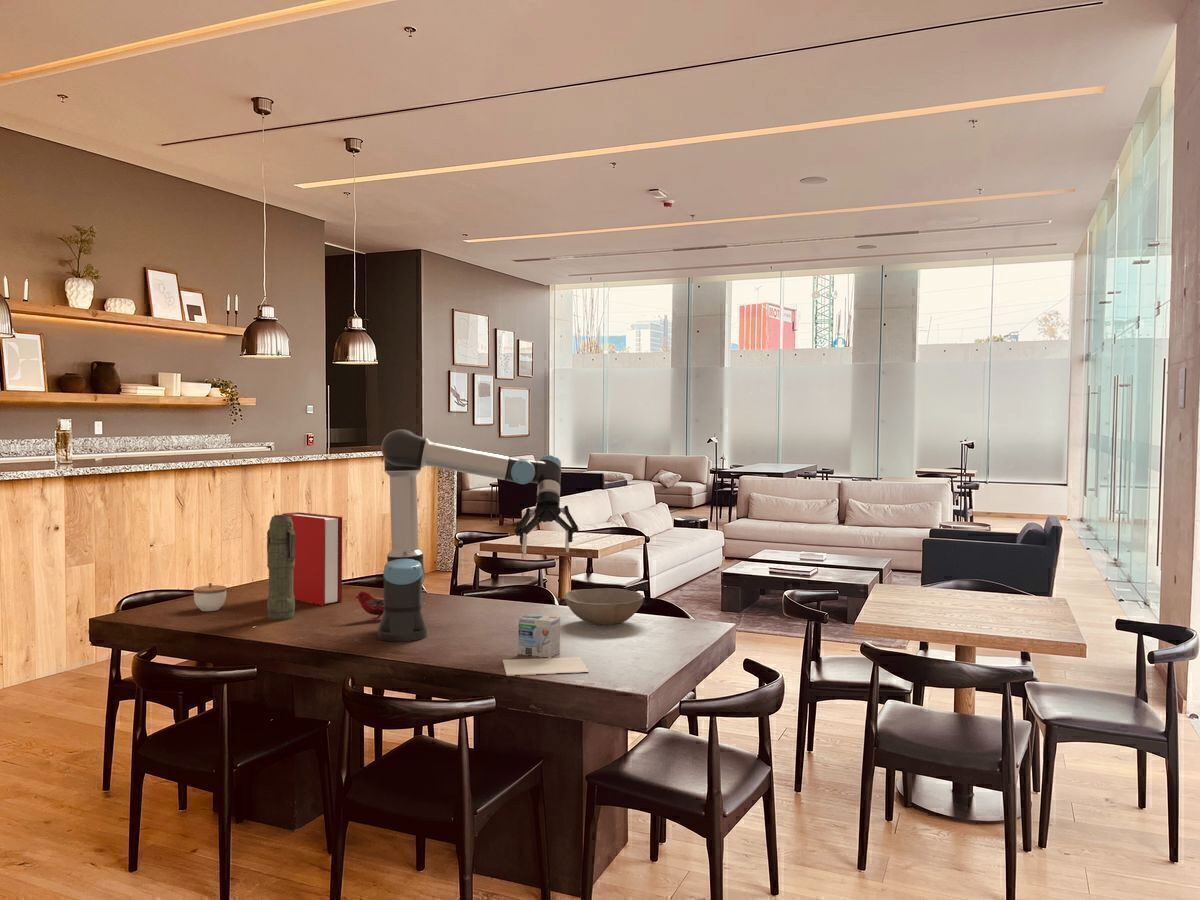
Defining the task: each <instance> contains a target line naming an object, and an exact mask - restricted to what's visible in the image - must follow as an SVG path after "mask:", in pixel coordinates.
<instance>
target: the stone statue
mask: <svg viewBox="0 0 1200 900" xmlns="http://www.w3.org/2000/svg"><path fill="white" fill-rule="evenodd" d="M295 544H296V534H295V532H294V530H293V522H292V519H291V516H289V515H282V514H275V515H273V516H271V519H270V521H269V528H268V530H267V532H266V552H267V554H266V555H267V562H266V563H267V564H266V565H267V569H268V596H267V599H266V612H267V618H266V619H267V620H269V621H285V620H291V619H293V618H295V609H296V600H295V597H294V594H293V568H294V566H295Z"/></svg>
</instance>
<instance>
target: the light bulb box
mask: <svg viewBox="0 0 1200 900" xmlns="http://www.w3.org/2000/svg"><path fill="white" fill-rule="evenodd" d="M517 637H518V645H517V646H518V647H517V649H518V651H517V654H518V655H521V654H522V655H523V656H528V655H532V656H531V657H536V656H542V657H541V658H543V657H551V658H553V657H555V656H556V655H555V654H557V653H559V652H560V651H561V649H560V648H561V645H560V644H561V617H560V616H553V615H552V616H551V615H543V614H542V615H540V614H534V613H533V614H531V613H527V614H526V615H524V616H523V615H522V616H521V617H519V618H518V636H517ZM559 654H560V653H559ZM554 655H555V656H554ZM557 655H558V654H557ZM552 656H553V657H552Z"/></svg>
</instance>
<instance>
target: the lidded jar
mask: <svg viewBox="0 0 1200 900" xmlns="http://www.w3.org/2000/svg"><path fill="white" fill-rule="evenodd" d="M227 589H228V588H227V586H225V585H222V584H221V585H218V584H215V585H213V584H212V582H210V583H208V585H201V586H197V587H194V588H193V599H194V603H195V605H196V606H197V608H199V610H200V611H202V612H214V611H218V610H220V608H222V606H223V605H224V604H225V602H226V599H227Z"/></svg>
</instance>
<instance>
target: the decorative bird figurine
mask: <svg viewBox="0 0 1200 900" xmlns="http://www.w3.org/2000/svg"><path fill="white" fill-rule="evenodd" d="M354 599H357V600H358V602H359V603H360V605H361V608H362V610H363V611H364V612H366V613H368V614H370V615H372V616H376V617H371V618H367V620H372V619H376V620H379V619H378V618H381V619H382V616H383V613H384V598H380V597H376V596H374V595H372V594H371V593H370V592H368V591H365V590H361V591H359V593H358V594H357V596H355V598H354Z"/></svg>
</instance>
